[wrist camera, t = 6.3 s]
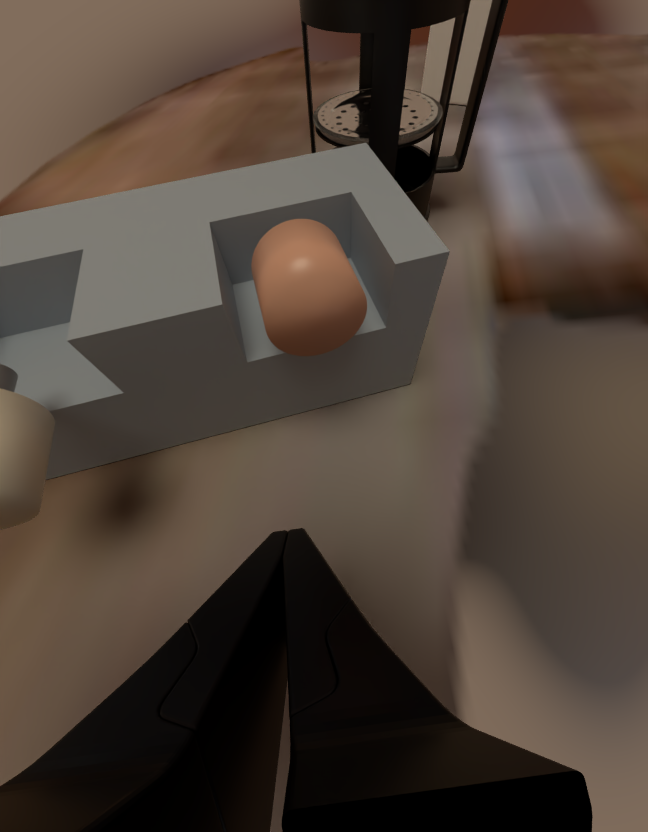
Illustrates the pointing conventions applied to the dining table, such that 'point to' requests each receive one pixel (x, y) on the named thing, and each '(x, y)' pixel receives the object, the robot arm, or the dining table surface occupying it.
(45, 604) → the dining table surface
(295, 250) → the terracotta button
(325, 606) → the robot arm
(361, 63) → the french press
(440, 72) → the milk
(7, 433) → the cream button
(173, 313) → the block
